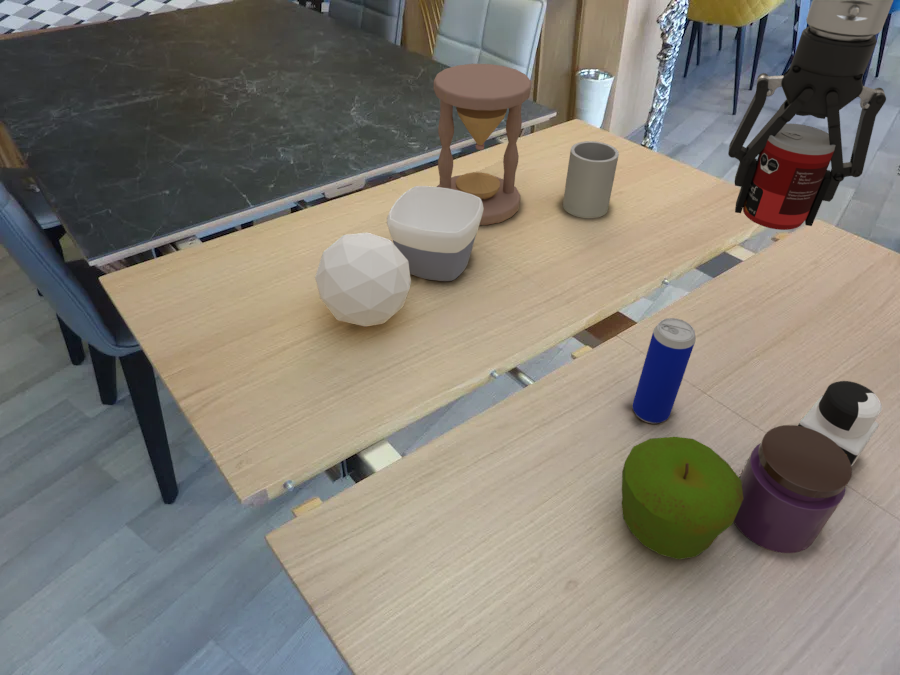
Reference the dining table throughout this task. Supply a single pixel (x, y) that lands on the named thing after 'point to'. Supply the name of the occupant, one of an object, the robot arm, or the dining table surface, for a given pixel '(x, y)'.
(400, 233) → the bowl
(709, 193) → the dining table surface
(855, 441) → the medicine bottle
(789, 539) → the jar
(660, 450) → the apple
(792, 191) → the canned food
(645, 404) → the beverage can
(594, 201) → the cup
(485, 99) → the hourglass
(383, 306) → the geometric shape
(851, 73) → the robot arm
